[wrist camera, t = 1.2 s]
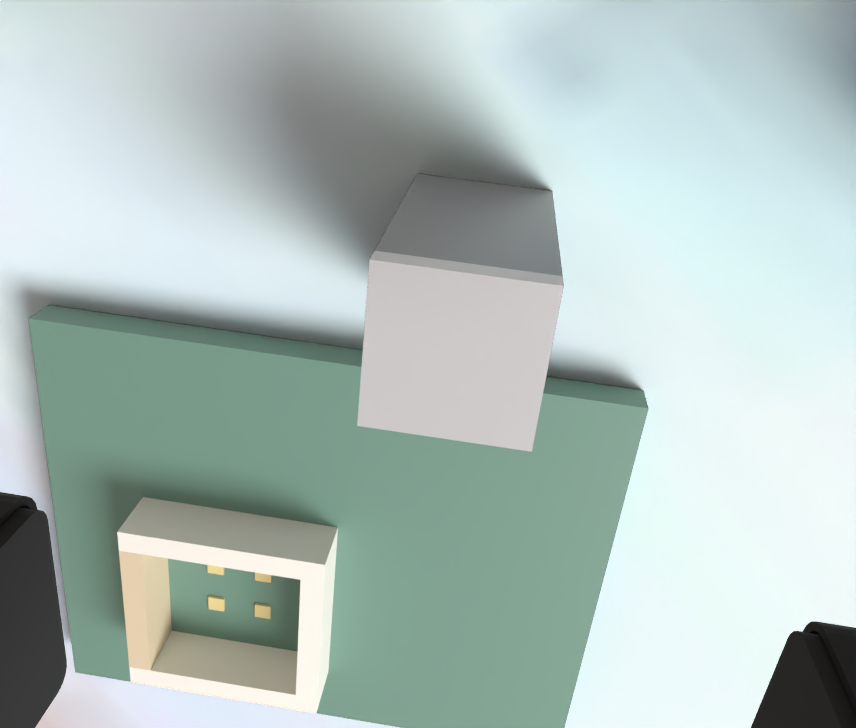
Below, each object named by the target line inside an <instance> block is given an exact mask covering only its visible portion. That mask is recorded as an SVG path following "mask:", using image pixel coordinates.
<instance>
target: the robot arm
mask: <svg viewBox="0 0 856 728" xmlns="http://www.w3.org/2000/svg"><path fill="white" fill-rule="evenodd" d="M66 667H67V664H66V654H65V646H64V638H63V631H62V623H61V616H60V608H59V601H58V593H57V586H56V578H55V571H54V563H53V556H52V548H51V541H50V533H49V526H48V519H47V516H46V514H45V513H44V512H43V511H40V510H37V507H36V503H35V502H34V500H33V499H32V498H30V497H27V496H20V495H14V494H8V493H1V492H0V728H35V727H36V725H37V724H38V722H39V721H40V719H41V718H42V716H43V715H44V713H45V712H46V710H47V709H48V707H49V705H50V704H51V702H52V701H53V699H54V698H55V696H56V695H57V693H58V691H59V690H60V688H61V685H62V683H63V680H64V677H65V673H66ZM751 728H856V628H853V627H846V626H840V625H834V624H828V623H821V622H810V623H809V624H808V625H806V627H805V629H804V630H803V632H799V631H794V632H792V633H791V634H790V636H789V637H788V639H787V642H786V644H785V647H784V649H783V651H782V654H781V656H780V659H779V661H778V663H777V666H776V668H775V671H774V673H773V676H772V678H771V680H770V683H769V685H768V688H767V690H766V693H765V695H764V697H763V700H762V702H761V705H760V707H759V709H758V712H757V714H756V717H755V719H754V722H753V724H752V726H751Z"/></svg>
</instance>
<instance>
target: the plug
mask: <svg viewBox="0 0 856 728" xmlns="http://www.w3.org/2000/svg"><path fill="white" fill-rule="evenodd" d="M563 287H564V284H563V276H562V268H561V259H560V251H559V243H558V235H557V227H556V218H555V210H554V202H553V194H552V191H548V190H540V189H533V188H525V187H518V186H510V185H502V184H495V183H487V182H479V181H472V180H464V179H456V178H449V177H441V176H433V175H426V174H418V173H417V175H416V177H415V178H414V180H413V182H412V184H411V186H410V188H409V189H408V191H407V193H406V195H405V197H404V198H403V200H402V202H401V204H400V206H399V207H398V209H397V211H396V213H395V215H394V216H393V218H392V220H391V222H390V224H389V225H388V227H387V229H386V231H385V233H384V234H383V236H382V238H381V240H380V242H379V243H378V245H377V247H376V249H375V251H374V252H373V254H372V256H371V258H370V260H369V273H368V286H367V300H366V313H365V327H364V340H363V354H362V367H361V381H360V394H359V408H358V421H357V426H362V427H369V428H375V429H382V430H389V431H396V432H402V433H409V434H416V435H422V436H429V437H436V438H443V439H449V440H456V441H463V442H470V443H476V444H483V445H490V446H497V447H503V448H510V449H517V450H524V451H530V452H532V448H533V443H534V438H535V433H536V427H537V422H538V417H539V412H540V407H541V401H542V396H543V391H544V386H545V381H546V375H547V370H548V365H549V360H550V355H551V350H552V344H553V339H554V334H555V329H556V324H557V318H558V313H559V308H560V303H561V298H562V293H563Z"/></svg>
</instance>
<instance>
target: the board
mask: <svg viewBox="0 0 856 728" xmlns="http://www.w3.org/2000/svg"><path fill="white" fill-rule="evenodd" d="M28 320H29V327H30V335H31V342H32V350H33V357H34V365H35V372H36V380H37V387H38V395H39V402H40V410H41V417H42V425H43V433H44V440H45V448H46V455H47V463H48V470H49V478H50V485H51V493H52V500H53V508H54V515H55V523H56V530H57V538H58V545H59V553H60V560H61V568H62V575H63V583H64V591H65V598H66V606H67V613H68V621H69V628H70V636H71V643H72V651H73V658H74V666H75V672H77V673H83V674H89V675H95V676H100V677H106V678H112V679H118V680H124V681H130V682H132V683H138V684H144V685H150V686H155V687H161V688H167V689H173V690H179V691H185V692H191V693H197V694H203V695H209V696H214V697H220V698H226V699H232V700H238V701H244V702H250V703H256V704H262V705H268V706H273V707H279V708H285V709H291V710H297V711H303V712H309V713H315V714H316V713H319V714H325V715H331V716H337V717H342V718H348V719H354V720H360V721H366V722H372V723H378V724H384V725H390V726H396V727H401V728H564V727H565V723H566V719H567V715H568V712H569V708H570V704H571V700H572V696H573V693H574V689H575V685H576V681H577V677H578V674H579V670H580V666H581V662H582V658H583V655H584V651H585V647H586V643H587V639H588V636H589V632H590V628H591V624H592V620H593V617H594V613H595V609H596V605H597V601H598V598H599V594H600V590H601V586H602V582H603V579H604V575H605V571H606V567H607V564H608V560H609V556H610V552H611V548H612V545H613V541H614V537H615V533H616V529H617V526H618V522H619V518H620V514H621V510H622V507H623V503H624V499H625V495H626V491H627V488H628V484H629V480H630V476H631V472H632V469H633V465H634V461H635V457H636V453H637V450H638V446H639V442H640V438H641V435H642V431H643V427H644V423H645V419H646V416H647V412H648V405H647V402H646V398H645V395H644V391H643V390H637V389H630V388H623V387H616V386H609V385H602V384H595V383H588V382H581V381H574V380H567V379H560V378H553V377H546V381H545V386H544V391H543V396H542V401H541V407H540V412H539V417H538V422H537V427H536V433H535V438H534V443H533V448H532V452H530V451H524V450H517V449H510V448H503V447H497V446H490V445H483V444H476V443H470V442H463V441H456V440H449V439H443V438H436V437H429V436H422V435H416V434H409V433H402V432H396V431H389V430H382V429H375V428H369V427H362V426H357V421H358V408H359V394H360V381H361V367H362V354H363V350H358V349H351V348H345V347H338V346H331V345H324V344H317V343H310V342H303V341H296V340H289V339H282V338H275V337H268V336H261V335H254V334H247V333H240V332H233V331H226V330H219V329H212V328H205V327H198V326H191V325H184V324H177V323H170V322H164V321H157V320H150V319H143V318H136V317H129V316H122V315H115V314H108V313H101V312H94V311H87V310H80V309H73V308H66V307H59V306H52V305H48V306H46V307H45V308H43V309H42V310H40V311H39V312H37V313H36V314H34V315H33V316H31V317H30V318H29V319H28Z"/></svg>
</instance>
